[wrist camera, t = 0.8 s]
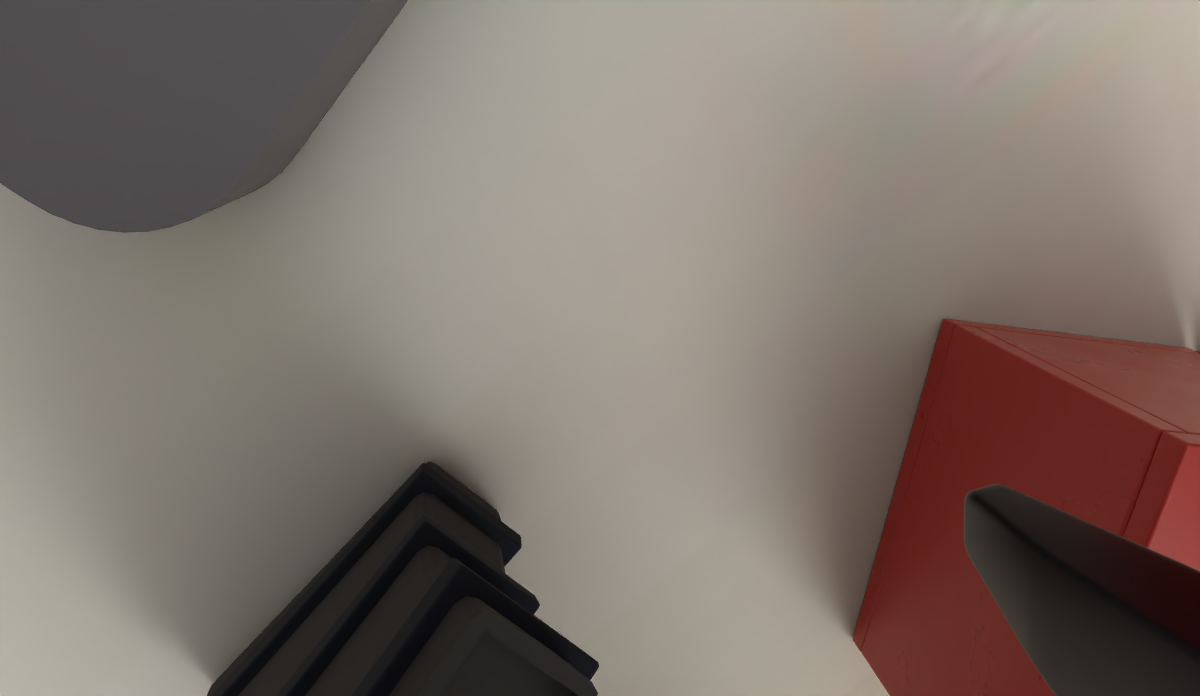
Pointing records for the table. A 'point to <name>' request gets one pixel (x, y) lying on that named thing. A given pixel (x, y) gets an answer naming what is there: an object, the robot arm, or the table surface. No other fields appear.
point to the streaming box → (167, 99)
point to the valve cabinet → (1024, 488)
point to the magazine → (415, 612)
